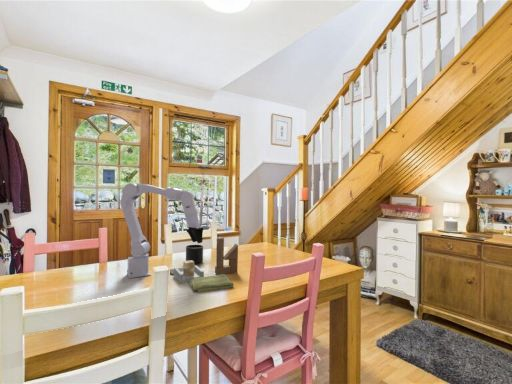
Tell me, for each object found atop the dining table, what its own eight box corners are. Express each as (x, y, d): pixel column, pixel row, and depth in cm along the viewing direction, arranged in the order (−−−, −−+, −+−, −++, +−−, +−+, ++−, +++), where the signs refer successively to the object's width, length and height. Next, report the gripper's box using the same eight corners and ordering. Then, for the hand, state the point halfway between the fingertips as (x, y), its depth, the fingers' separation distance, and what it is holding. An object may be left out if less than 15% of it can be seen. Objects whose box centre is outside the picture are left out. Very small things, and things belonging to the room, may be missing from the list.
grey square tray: (180, 283, 126) (180, 274, 126) (173, 276, 135) (174, 268, 135) (203, 280, 131) (204, 271, 131) (196, 273, 141) (196, 265, 141)
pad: (171, 275, 137) (171, 273, 137) (168, 271, 143) (168, 269, 143) (191, 272, 142) (191, 270, 142) (187, 268, 148) (187, 267, 148)
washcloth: (188, 283, 127) (188, 276, 127) (225, 279, 134) (226, 272, 134) (193, 294, 115) (194, 286, 115) (235, 288, 122) (235, 281, 122)
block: (185, 276, 131) (185, 263, 130) (183, 273, 134) (183, 261, 134) (194, 275, 133) (194, 262, 132) (191, 272, 136) (191, 260, 136)
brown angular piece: (237, 273, 143) (238, 237, 143) (217, 275, 138) (217, 238, 138) (235, 271, 146) (235, 236, 146) (214, 273, 142) (215, 237, 141)
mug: (190, 266, 152) (190, 249, 152) (183, 261, 163) (183, 245, 163) (206, 264, 157) (207, 248, 157) (199, 259, 168) (199, 244, 167)
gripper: (203, 212, 133) (210, 240, 134) (194, 213, 146) (200, 239, 146) (189, 216, 130) (196, 245, 130) (180, 216, 142) (187, 243, 143)
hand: (197, 242), depth 138 cm, fingers open, 7 cm apart
